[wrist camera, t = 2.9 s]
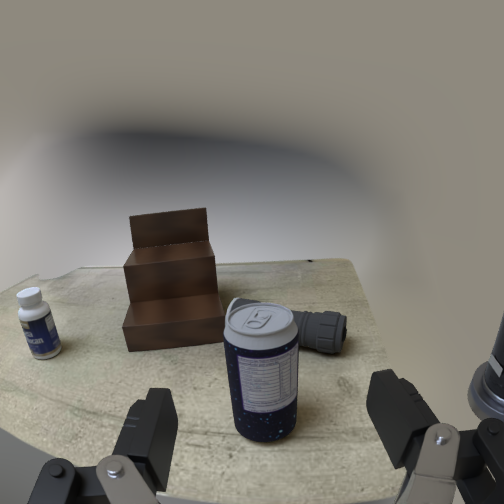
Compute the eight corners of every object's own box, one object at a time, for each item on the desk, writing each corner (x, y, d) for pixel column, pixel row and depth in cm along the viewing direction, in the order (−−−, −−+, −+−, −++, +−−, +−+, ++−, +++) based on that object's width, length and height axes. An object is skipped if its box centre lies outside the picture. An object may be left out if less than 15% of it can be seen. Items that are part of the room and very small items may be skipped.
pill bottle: (28, 360, 34) (6, 300, 31) (38, 343, 39) (21, 286, 36) (57, 360, 35) (36, 297, 32) (66, 341, 40) (49, 283, 37)
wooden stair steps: (213, 290, 59) (205, 207, 55) (228, 341, 41) (216, 225, 37) (142, 298, 56) (129, 216, 52) (128, 351, 38) (103, 238, 34)
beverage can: (304, 413, 27) (308, 305, 23) (282, 455, 22) (281, 342, 19) (252, 400, 29) (243, 296, 26) (224, 436, 24) (206, 327, 21)
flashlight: (347, 340, 39) (351, 304, 37) (340, 363, 34) (344, 324, 33) (244, 325, 45) (242, 291, 44) (226, 343, 41) (223, 307, 39)
